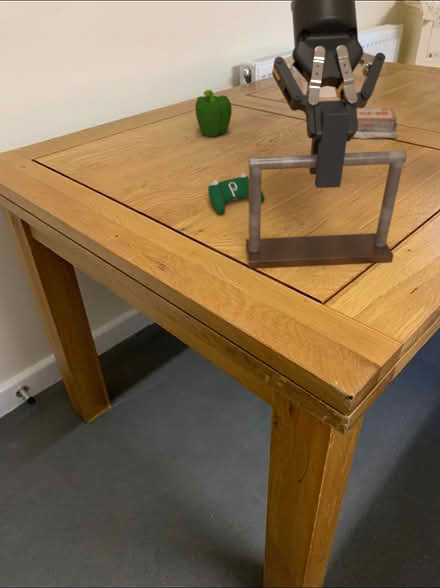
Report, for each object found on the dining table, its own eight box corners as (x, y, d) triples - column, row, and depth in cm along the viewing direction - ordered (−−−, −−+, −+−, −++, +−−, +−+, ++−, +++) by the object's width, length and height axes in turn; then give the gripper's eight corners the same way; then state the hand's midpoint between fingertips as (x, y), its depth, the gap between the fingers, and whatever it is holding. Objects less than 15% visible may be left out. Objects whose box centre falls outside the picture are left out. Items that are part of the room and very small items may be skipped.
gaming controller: (258, 207, 83) (246, 176, 83) (267, 199, 79) (254, 167, 80) (213, 220, 80) (200, 188, 80) (219, 212, 76) (206, 179, 77)
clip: (309, 171, 62) (315, 101, 57) (331, 170, 62) (339, 100, 57) (316, 188, 58) (324, 114, 53) (340, 187, 58) (350, 113, 53)
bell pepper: (217, 124, 114) (215, 81, 108) (238, 133, 108) (237, 88, 102) (188, 132, 110) (185, 87, 104) (209, 142, 105) (206, 95, 98)
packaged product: (395, 103, 106) (401, 117, 99) (391, 125, 109) (396, 140, 102) (315, 102, 109) (314, 115, 101) (313, 123, 112) (312, 138, 104)
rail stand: (379, 239, 70) (399, 142, 61) (392, 262, 65) (415, 159, 56) (245, 245, 70) (245, 149, 61) (248, 268, 65) (249, 167, 56)
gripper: (268, -16, 53) (277, 126, 51) (391, -21, 53) (405, 121, 51) (262, 29, 61) (270, 155, 59) (370, 24, 61) (381, 150, 59)
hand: (333, 138), depth 55 cm, fingers closed on clip, 3 cm apart
